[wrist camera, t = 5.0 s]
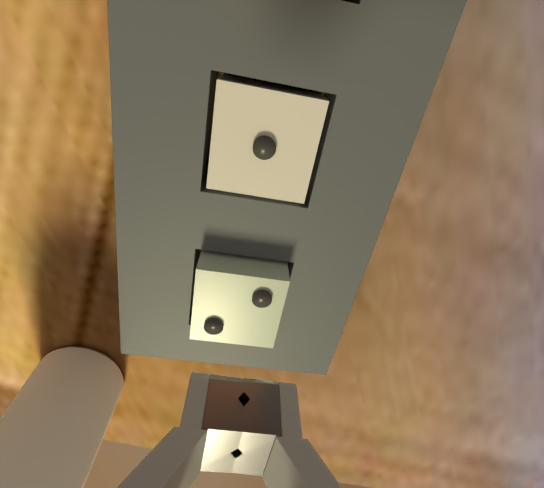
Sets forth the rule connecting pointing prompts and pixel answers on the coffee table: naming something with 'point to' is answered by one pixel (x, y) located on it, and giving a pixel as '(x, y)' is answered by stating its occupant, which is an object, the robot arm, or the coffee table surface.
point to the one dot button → (264, 138)
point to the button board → (252, 209)
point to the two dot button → (238, 299)
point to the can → (59, 420)
